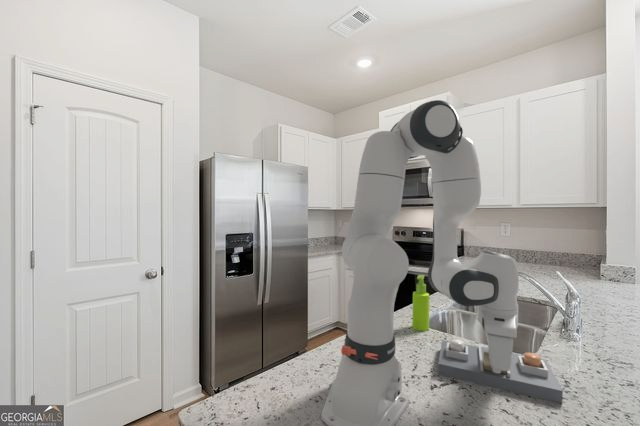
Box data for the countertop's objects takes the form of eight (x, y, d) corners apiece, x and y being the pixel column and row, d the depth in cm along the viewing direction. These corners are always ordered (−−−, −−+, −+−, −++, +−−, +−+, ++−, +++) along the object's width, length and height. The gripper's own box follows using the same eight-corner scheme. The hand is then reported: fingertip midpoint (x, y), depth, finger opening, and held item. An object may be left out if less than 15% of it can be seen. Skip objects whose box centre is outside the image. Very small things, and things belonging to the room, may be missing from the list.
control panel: (562, 403, 70) (562, 383, 70) (438, 374, 82) (438, 357, 81) (545, 369, 84) (546, 353, 84) (442, 349, 96) (442, 334, 96)
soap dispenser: (410, 330, 110) (411, 276, 110) (414, 323, 117) (414, 272, 116) (427, 333, 108) (427, 278, 107) (429, 326, 114) (430, 274, 113)
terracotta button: (542, 369, 76) (542, 360, 76) (525, 365, 78) (525, 357, 78) (539, 362, 80) (539, 354, 80) (523, 359, 81) (523, 351, 81)
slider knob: (505, 373, 76) (505, 362, 76) (484, 369, 78) (484, 357, 78) (503, 366, 80) (504, 355, 80) (483, 362, 82) (483, 351, 82)
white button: (464, 353, 84) (464, 345, 84) (450, 350, 86) (450, 343, 86) (464, 348, 87) (464, 340, 87) (450, 345, 89) (450, 338, 89)
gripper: (481, 302, 86) (480, 349, 86) (484, 328, 68) (483, 388, 68) (506, 305, 83) (506, 354, 84) (517, 333, 65) (516, 396, 65)
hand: (496, 370), depth 76 cm, fingers closed
